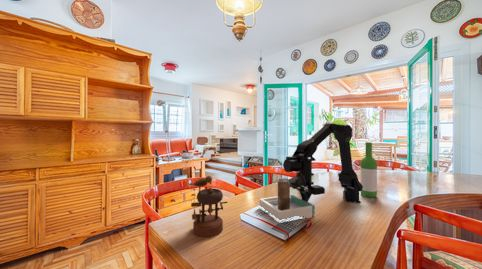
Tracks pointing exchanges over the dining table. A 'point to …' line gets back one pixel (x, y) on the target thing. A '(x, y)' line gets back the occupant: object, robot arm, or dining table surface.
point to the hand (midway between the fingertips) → (304, 204)
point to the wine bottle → (369, 173)
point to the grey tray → (294, 203)
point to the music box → (207, 223)
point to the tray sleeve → (285, 214)
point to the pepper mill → (283, 194)
